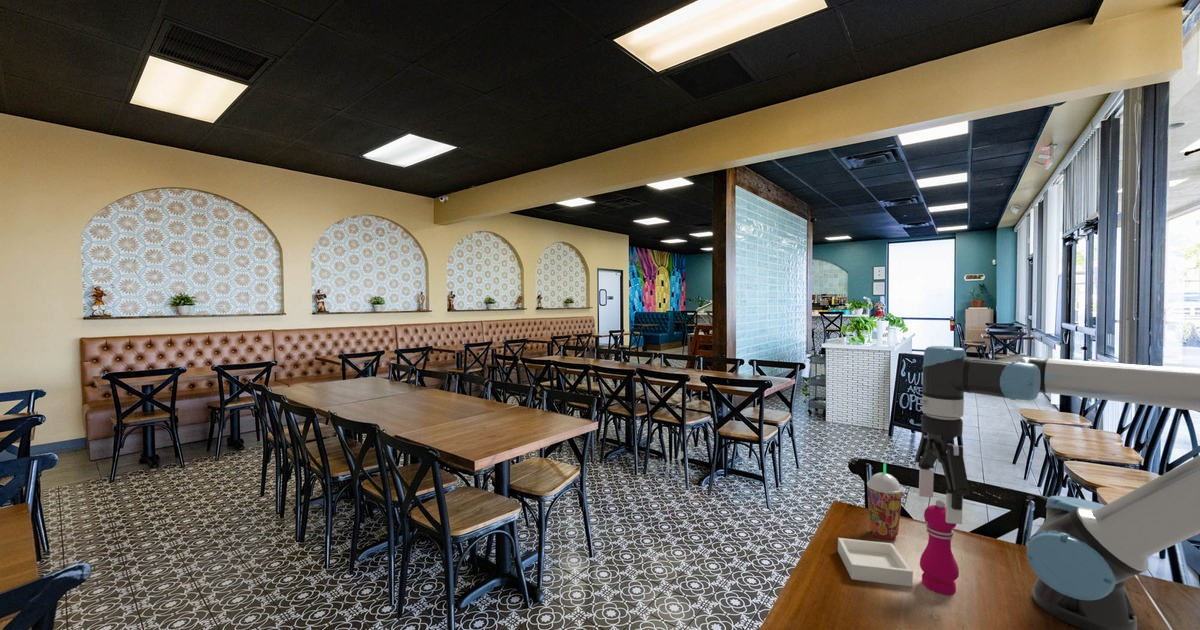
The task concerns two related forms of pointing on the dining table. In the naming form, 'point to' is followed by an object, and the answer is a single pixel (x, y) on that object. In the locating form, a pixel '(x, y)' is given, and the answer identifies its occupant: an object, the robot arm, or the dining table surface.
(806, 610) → the dining table surface
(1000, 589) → the dining table surface
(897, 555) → the tray
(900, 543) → the dining table surface
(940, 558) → the pepper mill
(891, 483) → the smoothie
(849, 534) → the dining table surface
